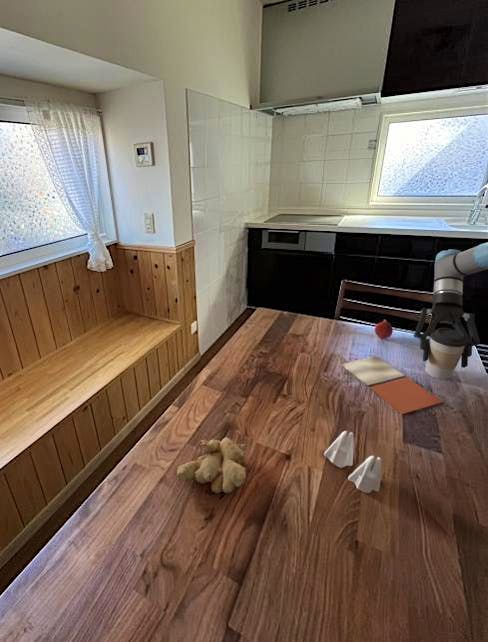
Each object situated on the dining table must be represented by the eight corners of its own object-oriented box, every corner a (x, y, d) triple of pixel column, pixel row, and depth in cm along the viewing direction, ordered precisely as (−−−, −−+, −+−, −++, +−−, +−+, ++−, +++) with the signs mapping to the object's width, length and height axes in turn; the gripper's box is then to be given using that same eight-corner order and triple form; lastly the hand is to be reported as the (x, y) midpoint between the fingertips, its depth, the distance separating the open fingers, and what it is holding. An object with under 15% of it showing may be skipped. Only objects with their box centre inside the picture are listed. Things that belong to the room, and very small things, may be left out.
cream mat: (404, 376, 107) (404, 375, 106) (367, 386, 104) (367, 385, 103) (375, 356, 117) (376, 355, 117) (341, 365, 114) (341, 364, 114)
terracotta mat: (443, 402, 95) (443, 401, 95) (402, 414, 92) (403, 413, 92) (407, 378, 106) (407, 377, 106) (370, 388, 103) (370, 387, 102)
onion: (393, 339, 127) (398, 320, 123) (384, 344, 124) (388, 325, 121) (379, 333, 131) (382, 315, 128) (370, 337, 129) (373, 319, 125)
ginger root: (265, 455, 81) (262, 436, 76) (237, 520, 71) (232, 503, 66) (209, 432, 89) (203, 413, 85) (177, 487, 79) (169, 470, 75)
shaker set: (321, 459, 80) (327, 424, 76) (333, 452, 82) (339, 417, 78) (368, 499, 71) (377, 462, 66) (380, 489, 73) (390, 452, 68)
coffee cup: (427, 380, 104) (439, 338, 98) (416, 363, 112) (427, 324, 106) (461, 383, 102) (475, 340, 96) (447, 365, 110) (460, 325, 104)
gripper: (485, 304, 107) (484, 373, 101) (405, 296, 116) (400, 358, 110) (495, 295, 101) (495, 368, 95) (410, 287, 110) (405, 353, 104)
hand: (444, 363), depth 102 cm, fingers closed on coffee cup, 9 cm apart
